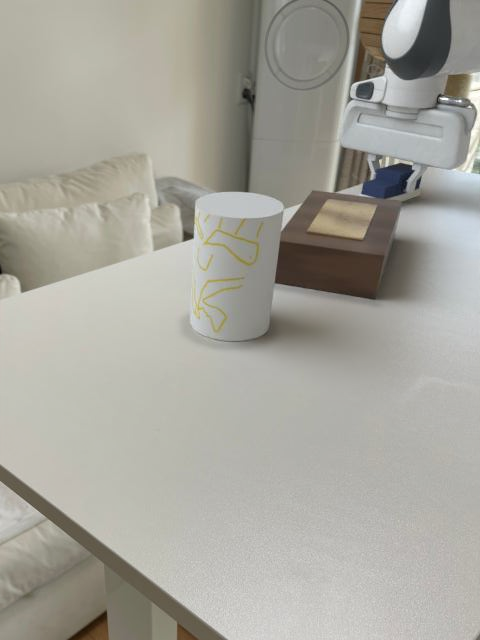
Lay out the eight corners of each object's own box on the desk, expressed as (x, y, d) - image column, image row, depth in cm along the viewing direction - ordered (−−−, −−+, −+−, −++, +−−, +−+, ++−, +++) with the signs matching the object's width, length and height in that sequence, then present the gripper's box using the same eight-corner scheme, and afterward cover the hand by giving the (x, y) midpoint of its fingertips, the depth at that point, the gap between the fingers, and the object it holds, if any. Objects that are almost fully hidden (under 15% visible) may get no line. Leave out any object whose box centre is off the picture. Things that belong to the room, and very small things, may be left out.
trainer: (394, 189, 108) (401, 161, 106) (419, 195, 106) (426, 167, 103) (357, 201, 102) (362, 172, 100) (382, 208, 100) (389, 178, 97)
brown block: (307, 226, 92) (312, 188, 89) (394, 238, 89) (403, 199, 86) (269, 281, 75) (274, 238, 72) (374, 299, 72) (385, 254, 69)
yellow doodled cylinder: (173, 323, 66) (177, 204, 59) (220, 299, 71) (229, 186, 64) (239, 349, 62) (251, 224, 55) (284, 321, 67) (300, 204, 60)
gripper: (491, 98, 91) (462, 198, 99) (365, 80, 103) (349, 171, 111) (469, 102, 87) (442, 206, 95) (342, 84, 99) (327, 177, 107)
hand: (391, 187), depth 103 cm, fingers closed on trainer, 4 cm apart
